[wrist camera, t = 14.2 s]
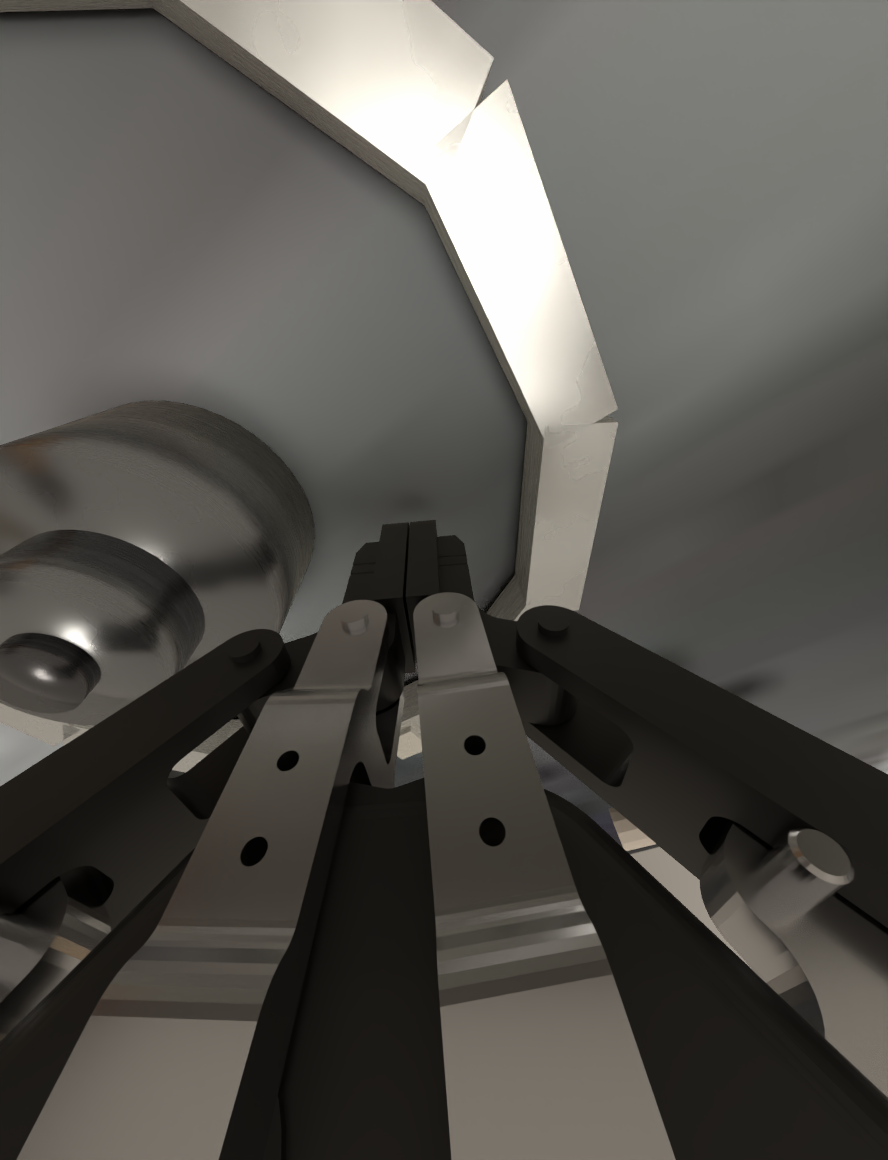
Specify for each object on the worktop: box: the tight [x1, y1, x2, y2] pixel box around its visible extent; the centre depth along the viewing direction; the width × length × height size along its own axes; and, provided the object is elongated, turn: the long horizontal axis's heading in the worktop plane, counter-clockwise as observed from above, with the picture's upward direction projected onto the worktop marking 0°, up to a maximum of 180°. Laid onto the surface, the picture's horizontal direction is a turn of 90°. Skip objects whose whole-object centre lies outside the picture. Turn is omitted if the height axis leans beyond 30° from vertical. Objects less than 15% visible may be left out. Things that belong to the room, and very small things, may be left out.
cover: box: [0, 401, 315, 726], centre depth 11 cm, size 8×8×8 cm
